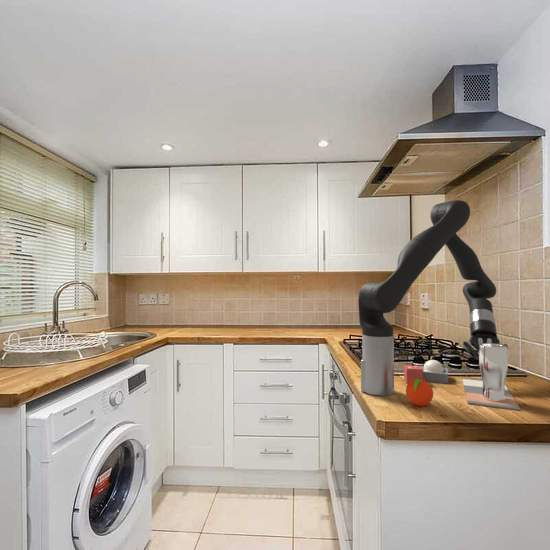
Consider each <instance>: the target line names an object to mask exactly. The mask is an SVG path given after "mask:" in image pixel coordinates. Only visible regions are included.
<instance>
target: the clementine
mask: <svg viewBox="0 0 550 550" xmlns="http://www.w3.org/2000/svg"><path fill="white" fill-rule="evenodd" d="M405 393H406V397H407V400H409V402H410V403H412V404H413V405H415V406H418V405H419V407H422V406H427V405H428V404H431V402H432V400H433V398H434V390H433V388H432V386H431V385H430V383H429V382H428V381H425V380H421V379H414V380H412V381H410V382H409V383H408V384H406V387H405Z"/></svg>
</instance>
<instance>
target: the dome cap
mask: <svg viewBox="0 0 550 550" xmlns="http://www.w3.org/2000/svg"><path fill="white" fill-rule="evenodd" d="M423 366H424V368H423V371H427V372H437V373H444V369H443V368H444V366H443V364H442V363H441V362H440V361H438V360H435V359H429V360H427V361H426V362H425V363H424V364H423Z"/></svg>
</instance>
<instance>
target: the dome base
mask: <svg viewBox="0 0 550 550" xmlns="http://www.w3.org/2000/svg"><path fill="white" fill-rule="evenodd" d="M419 366H420V367H421V368H422V369H423V368H424V365H419ZM448 368H449V367H448ZM448 368H447V367H443V369H444V373H437V372H427V371H423V380H425V381H426V382H431V383H442V384H449V369H448Z"/></svg>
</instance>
